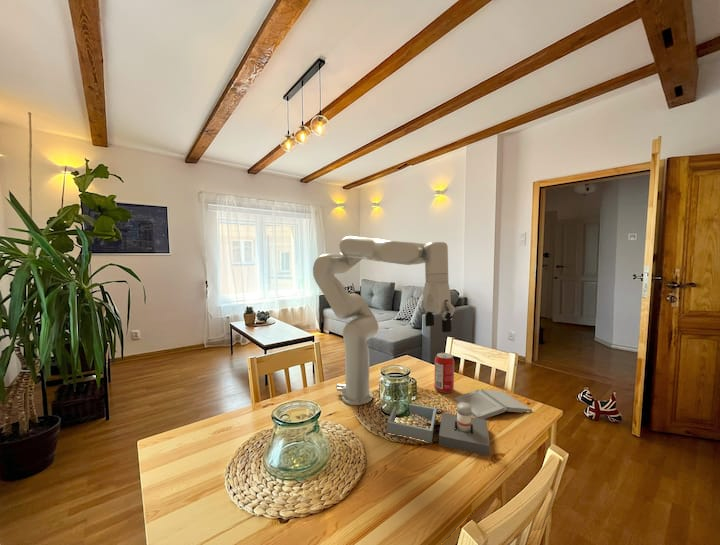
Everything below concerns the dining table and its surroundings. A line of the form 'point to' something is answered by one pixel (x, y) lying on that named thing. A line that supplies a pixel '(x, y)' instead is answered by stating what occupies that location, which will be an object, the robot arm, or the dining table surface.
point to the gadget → (490, 403)
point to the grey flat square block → (464, 435)
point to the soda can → (444, 373)
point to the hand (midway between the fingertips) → (437, 328)
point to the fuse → (464, 417)
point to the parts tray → (414, 430)
